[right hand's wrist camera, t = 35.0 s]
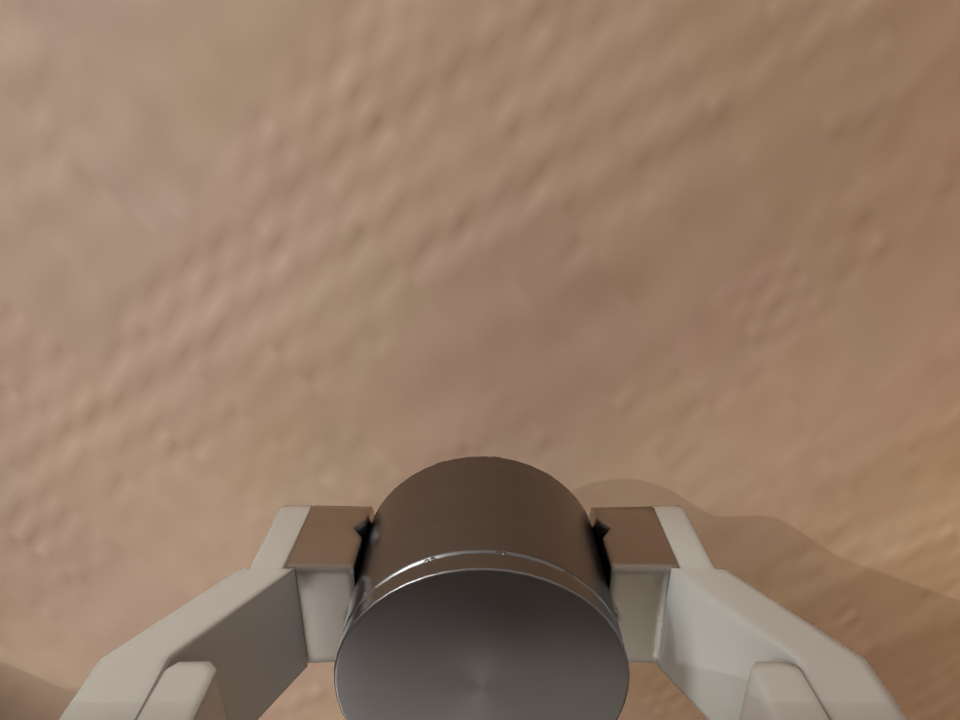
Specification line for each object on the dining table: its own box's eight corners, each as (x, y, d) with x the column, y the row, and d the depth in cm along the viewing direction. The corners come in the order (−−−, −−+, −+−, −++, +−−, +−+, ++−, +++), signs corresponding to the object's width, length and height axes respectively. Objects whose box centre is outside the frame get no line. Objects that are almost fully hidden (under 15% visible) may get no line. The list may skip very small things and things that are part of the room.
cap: (402, 655, 11) (381, 804, 9) (337, 479, 10) (291, 601, 8) (610, 617, 11) (648, 762, 9) (573, 432, 10) (606, 541, 7)
